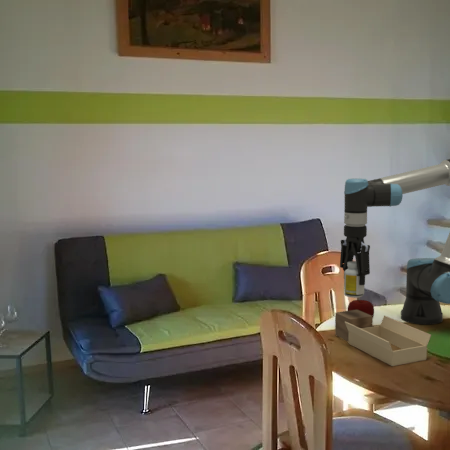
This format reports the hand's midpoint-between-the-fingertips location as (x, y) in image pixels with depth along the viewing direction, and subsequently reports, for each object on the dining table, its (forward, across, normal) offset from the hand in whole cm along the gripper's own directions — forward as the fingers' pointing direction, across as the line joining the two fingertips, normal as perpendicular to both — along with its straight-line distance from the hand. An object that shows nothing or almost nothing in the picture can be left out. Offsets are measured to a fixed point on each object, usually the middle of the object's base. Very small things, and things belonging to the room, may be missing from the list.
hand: (353, 291), depth 217 cm
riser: (+16, 0, 0) cm, 16 cm away
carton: (+16, +16, +1) cm, 23 cm away
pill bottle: (+2, 0, 0) cm, 2 cm away
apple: (+16, -8, +9) cm, 21 cm away
